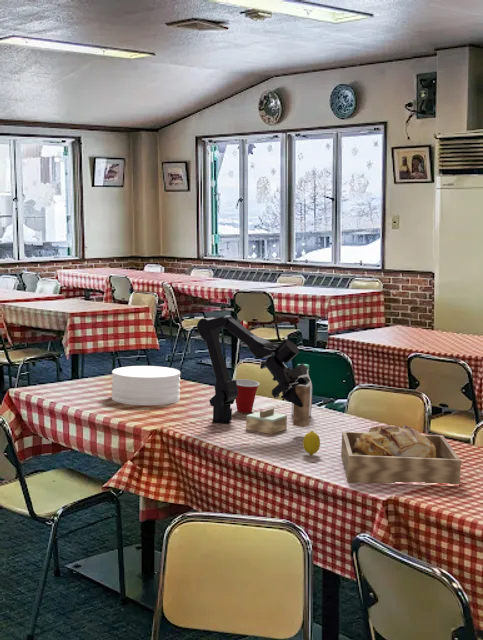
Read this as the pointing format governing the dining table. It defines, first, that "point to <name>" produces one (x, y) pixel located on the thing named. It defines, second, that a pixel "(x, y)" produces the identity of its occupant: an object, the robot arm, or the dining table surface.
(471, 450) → the dining table surface
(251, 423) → the open wooden box
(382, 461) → the bread crate
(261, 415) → the lid
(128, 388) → the plate stack
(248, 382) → the plastic cup
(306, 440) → the lemon
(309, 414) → the milk bottle
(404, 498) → the dining table surface
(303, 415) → the tan rectangular bar
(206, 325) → the robot arm
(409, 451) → the bread
